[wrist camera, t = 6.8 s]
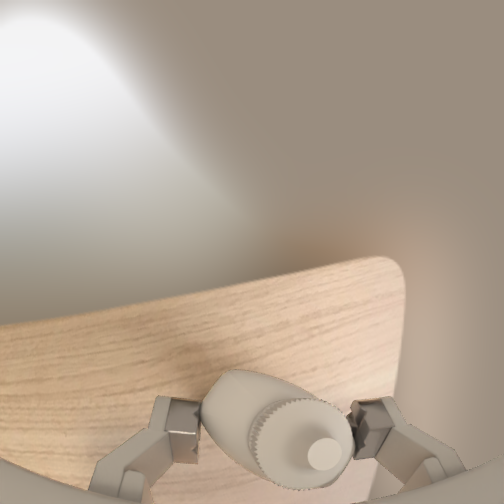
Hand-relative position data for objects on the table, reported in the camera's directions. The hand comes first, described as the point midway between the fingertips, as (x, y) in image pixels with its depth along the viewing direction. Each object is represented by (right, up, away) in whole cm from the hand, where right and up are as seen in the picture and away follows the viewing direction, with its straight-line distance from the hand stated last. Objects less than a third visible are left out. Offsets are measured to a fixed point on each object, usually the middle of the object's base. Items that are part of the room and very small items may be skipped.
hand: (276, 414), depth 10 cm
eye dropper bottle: (-1, -4, +6) cm, 7 cm away
